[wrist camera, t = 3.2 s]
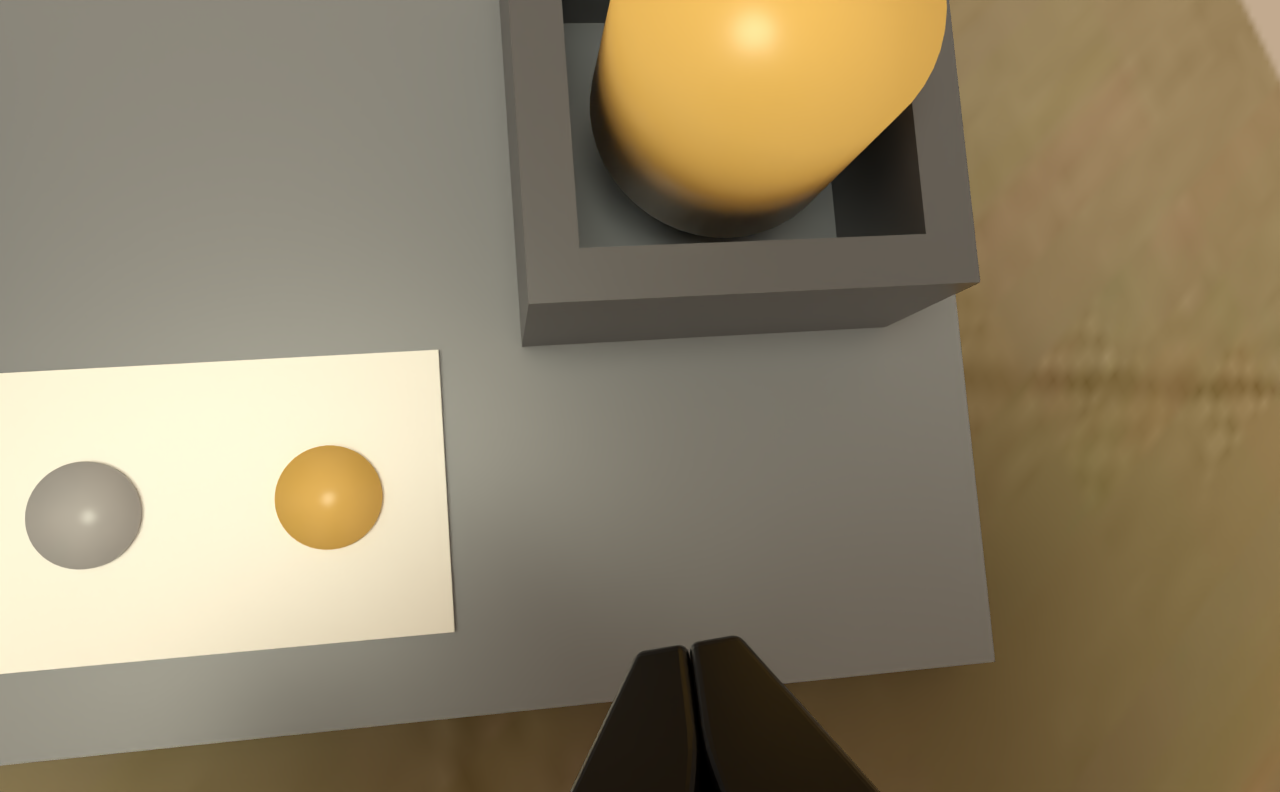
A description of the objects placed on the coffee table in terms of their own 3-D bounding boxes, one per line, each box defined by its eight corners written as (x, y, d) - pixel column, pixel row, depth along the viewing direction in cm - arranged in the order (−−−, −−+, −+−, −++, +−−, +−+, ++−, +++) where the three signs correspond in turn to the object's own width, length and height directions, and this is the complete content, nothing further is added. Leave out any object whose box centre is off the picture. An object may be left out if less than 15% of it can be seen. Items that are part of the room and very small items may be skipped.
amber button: (855, 232, 18) (963, 148, 14) (599, 243, 17) (632, 157, 13) (830, -13, 18) (928, -167, 14) (580, -12, 18) (606, -172, 13)
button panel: (960, 651, 21) (1119, 699, 16) (-646, 815, 17) (-1171, 955, 12) (881, -93, 23) (1002, -282, 17) (-602, -103, 19) (-1049, -353, 13)
